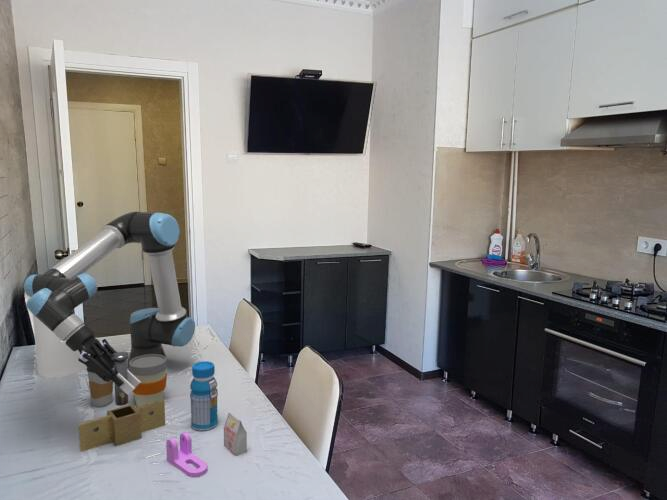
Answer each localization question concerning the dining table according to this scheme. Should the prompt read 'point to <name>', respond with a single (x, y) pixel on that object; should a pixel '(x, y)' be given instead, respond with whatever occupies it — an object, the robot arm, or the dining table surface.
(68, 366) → the white stepped cylinder block
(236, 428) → the small gable-top carton
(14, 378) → the dining table surface
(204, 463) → the bracket
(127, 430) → the tan plate
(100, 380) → the coffee cup
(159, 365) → the reusable coffee cup
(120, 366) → the hinge pin
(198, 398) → the beverage bottle
